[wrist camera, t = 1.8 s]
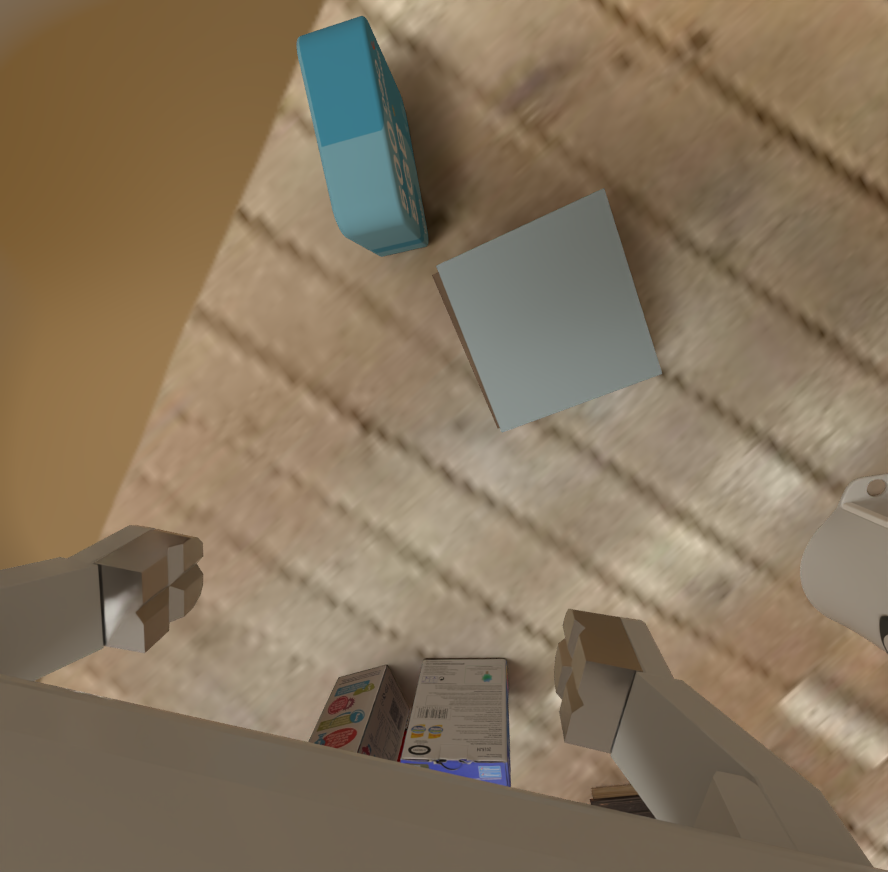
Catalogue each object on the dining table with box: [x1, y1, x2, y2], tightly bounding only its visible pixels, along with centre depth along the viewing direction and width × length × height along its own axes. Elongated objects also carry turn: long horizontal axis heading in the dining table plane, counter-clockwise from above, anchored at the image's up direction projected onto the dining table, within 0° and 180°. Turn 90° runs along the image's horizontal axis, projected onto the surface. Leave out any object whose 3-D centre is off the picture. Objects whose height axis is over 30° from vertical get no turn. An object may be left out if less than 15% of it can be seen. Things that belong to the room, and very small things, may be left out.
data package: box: [297, 16, 428, 257], centre depth 33 cm, size 12×4×12 cm, turn 11°
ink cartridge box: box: [400, 659, 511, 787], centre depth 44 cm, size 10×6×14 cm, turn 97°
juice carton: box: [309, 665, 410, 762], centre depth 43 cm, size 7×7×22 cm
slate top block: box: [436, 188, 662, 432], centre depth 34 cm, size 12×13×5 cm
